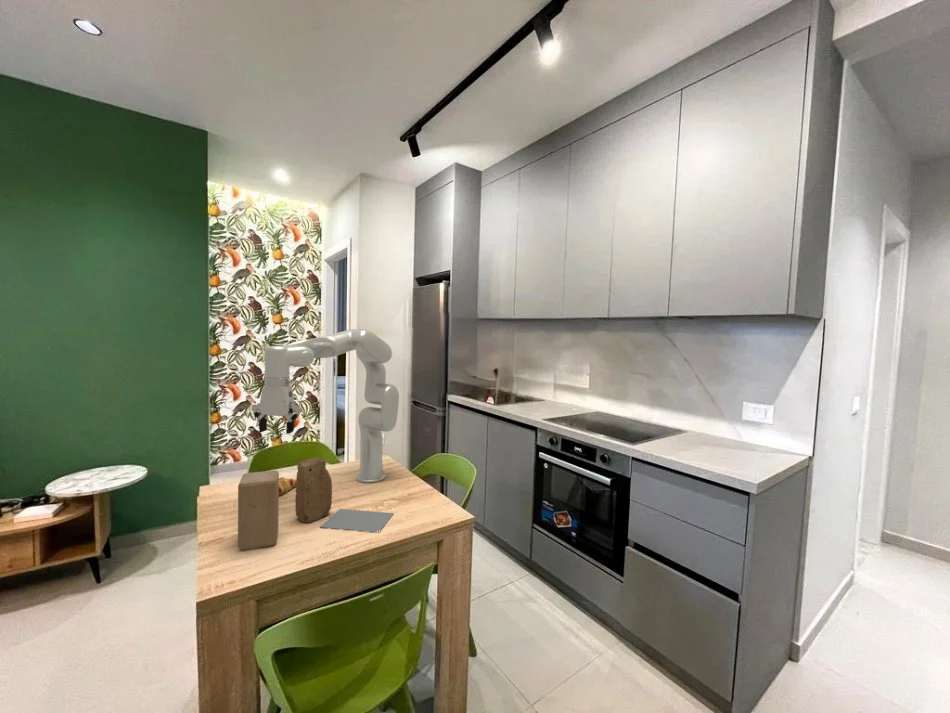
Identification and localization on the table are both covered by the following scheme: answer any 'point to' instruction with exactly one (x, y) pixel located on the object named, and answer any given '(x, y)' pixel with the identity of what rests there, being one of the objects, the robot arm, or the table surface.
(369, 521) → the mat
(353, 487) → the table surface
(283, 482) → the croissant
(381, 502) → the table surface
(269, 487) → the wooden block
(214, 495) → the table surface
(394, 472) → the table surface
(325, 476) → the brown rounded lump
